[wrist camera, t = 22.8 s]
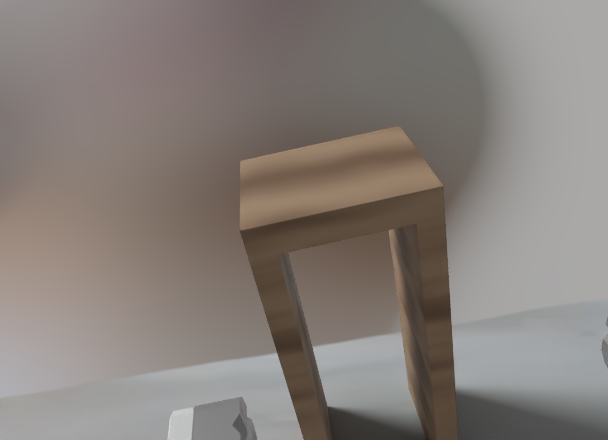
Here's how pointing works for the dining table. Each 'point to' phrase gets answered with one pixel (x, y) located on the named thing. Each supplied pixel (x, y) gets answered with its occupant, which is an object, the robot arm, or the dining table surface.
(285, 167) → the walnut shelf
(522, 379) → the dining table surface
